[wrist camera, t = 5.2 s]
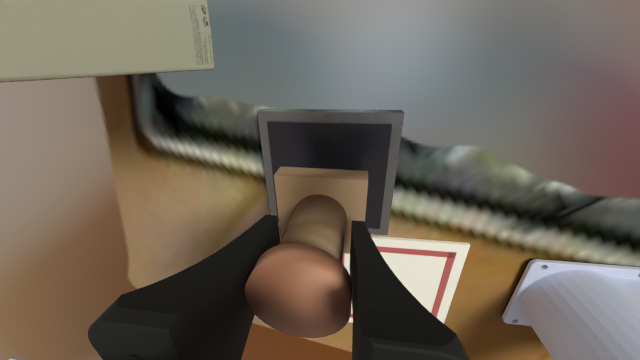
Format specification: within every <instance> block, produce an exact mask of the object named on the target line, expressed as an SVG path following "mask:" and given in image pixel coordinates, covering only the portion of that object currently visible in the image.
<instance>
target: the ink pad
mask: <svg viewBox="0 0 640 360" xmlns="http://www.w3.org/2000/svg"><path fill="white" fill-rule="evenodd" d="M257 115H258V122H259V130H260V138H261V146H262V154H263V162H264V170H265V178H266V186H267V194H268V201H269V209H270V215H276V216H277V218H278V227H280V226H279V217H278V208H277V199H276V190H275V181H274V174H275V173H276V172H277V171H278V169H279V168H280V167H281V166H282V167H301V168H320V169H339V170H358V171H368V190H367V202H366V214H365V223H366V225H367V228H368V231H369V233H370V234H381V235H387V234H388V227H389V220H390V212H391V205H392V198H393V190H394V183H395V176H396V169H397V161H398V154H399V147H400V140H401V132H402V125H403V118H404V112H403V111H402V110H335V109H331V110H330V109H261V110H259V111H257Z"/></svg>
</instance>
